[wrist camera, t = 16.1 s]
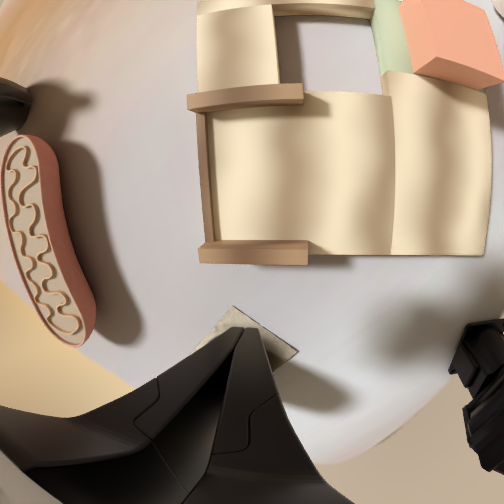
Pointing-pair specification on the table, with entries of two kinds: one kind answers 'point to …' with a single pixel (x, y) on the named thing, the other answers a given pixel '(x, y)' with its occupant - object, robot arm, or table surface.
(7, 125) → the mug
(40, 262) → the anatomical model
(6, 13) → the table surface
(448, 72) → the coral block
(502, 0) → the white knot sculpture
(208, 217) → the cubby
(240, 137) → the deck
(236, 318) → the condiment
